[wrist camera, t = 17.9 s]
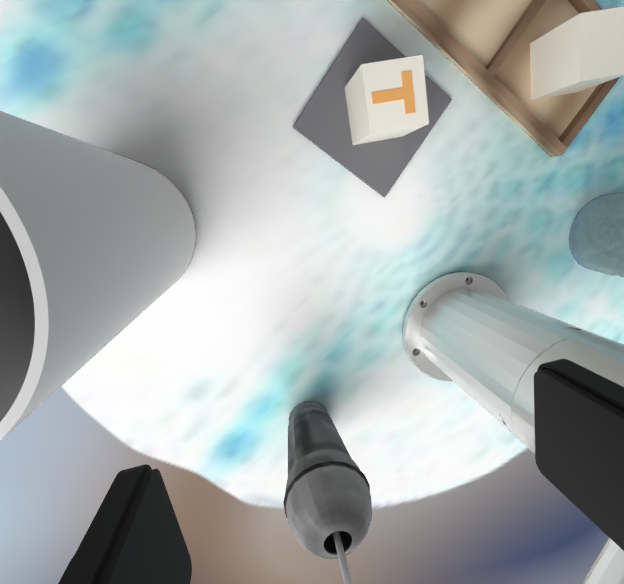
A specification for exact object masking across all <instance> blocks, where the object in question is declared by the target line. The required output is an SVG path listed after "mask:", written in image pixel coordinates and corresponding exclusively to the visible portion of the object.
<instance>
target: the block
mask: <svg viewBox="0 0 624 584" xmlns="http://www.w3.org/2000/svg"><path fill="white" fill-rule="evenodd" d="M530 71H531V100H536V99H542V98H547V97H553V96H559V95H565V94H570V93H576V92H579V91H582V90H585V89H587V88H590V87H593V86H596V85H599V84H601V83H604V82H607V81H610V80H612V79H615V78H618V77H621V76H624V7H618V8H611V9H604V10H598V11H591V12H584V13H580V14H578V15H576V16H575V17H573V18H571V19H570V20H568V21H566V22H565V23H563V24H561V25H560V26H558V27H556V28H555V29H553V30H551V31H550V32H548V33H546V34H545V35H543V36H541V37H540V38H538V39H536V40H535V41H533V42H531V43H530Z"/></svg>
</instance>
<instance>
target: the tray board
mask: <svg viewBox="0 0 624 584" xmlns="http://www.w3.org/2000/svg"><path fill="white" fill-rule="evenodd" d="M388 1H389V2H390V3H391V4H392V5H393V6H394V7H395V8H396V9H397V10H398V11H399V12H400V13H401V14H402V15H403V16H404V17H405V18H406V19H407V20H408V21H410V22H411V23H412V24H413V25H414V26H415V27H416V28H417V29H418V30H419V31H420V32H421V33H422V34H423V35H424V36H425V37H426V38H427V39H428V40H429V41H430V42H432V43H433V44H434V45H435V46H436V47H437V48H438V49H439V50H440V51H441V52H442V53H443V54H444V55H445V56H446V57H447V58H448V59H449V60H450V61H451V62H452V63H454V64H455V65H456V66H457V67H458V68H459V69H460V70H461V71H462V72H463V73H464V74H465V75H466V76H467V77H468V78H469V79H470V80H471V81H472V82H473V83H474V84H476V85H477V86H478V87H479V88H480V89H481V90H482V91H483V92H484V93H485V94H486V95H487V96H488V97H489V98H490V99H491V100H492V101H493V102H494V103H495V104H496V105H498V106H499V107H500V108H501V109H502V110H503V111H504V112H505V113H506V114H507V115H508V116H509V117H510V118H511V119H512V120H513V121H514V122H515V123H516V124H517V125H518V126H520V127H521V128H522V129H523V130H524V131H525V132H526V133H527V134H528V135H529V136H530V137H531V138H532V139H533V140H534V141H535V142H536V143H537V144H538V145H539V146H540V147H542V148H543V149H544V150H545V151H546V152H547V153H548V154H549V155H550V156H551V157H552V156H558V155H562V154H563V153H564V152H565V150H566V149H567V148H568V146H569V145H570V144H571V142H572V141H573V139H574V138H575V137H576V135H577V134H578V133H579V131H580V130H581V129H582V127H583V126H584V125H585V123H586V122H587V121H588V119H589V118H590V117H591V115H592V114H593V112H594V111H595V110H596V108H597V107H598V106H599V104H600V103H601V102H602V100H603V99H604V98H605V96H606V95H607V94H608V92H609V91H610V89H611V88H612V87H613V85H614V84H615V83H616V81H617V80H618V79H619V77H618V78H615V79H612V80H610V81H607V82H604V83H601V84H599V85H596V86H593V87H590V88H587V89H585V90H582V91H579V92H576V93H570V94H565V95H559V96H553V97H547V98H542V99H536V100H531V71H530V43H531V42H533V41H535V40H536V39H538V38H540V37H541V36H543V35H545V34H546V33H548V32H550V31H551V30H553V29H555V28H556V27H558V26H560V25H561V24H563V23H565V22H566V21H568V20H570V19H571V18H573V17H575V16H576V15H578V14H580V13H584V12H591V11H598V10H602V9H601V8H600V6H599V5H598V4H597V3H596V2H595V0H388Z"/></svg>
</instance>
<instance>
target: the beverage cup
mask: <svg viewBox="0 0 624 584" xmlns="http://www.w3.org/2000/svg"><path fill="white" fill-rule="evenodd" d="M284 509H285V514H286V517H287V518H288V522H289V525H290V528H291V530H292V531H293V533H294V535H295V537H296V538H297V540H298V542H299V543H300V544H301V545H302V546H303V547H304V548H305V549H307V550H308V551H309V552H310V553H312V554H314V555H316V556H319V557H322V558H326V559H336V558H339V563H340V567H341V571H342V575H343V579H344V584H352V580H351V576H350V572H349V568H348V564H347V560H346V555H348V554H350V553H351V552H352V551H353V550H355V549H356V548H357V547H358V546H359V545H360V544H361V542H362V541H363V539H364V538H365V536H366V534H367V532H368V529H369V525H370V522H371V517H372V505H371V495H370V488H369V483H368V481H367V479H366V477H365V475H364V474H363V473H362V472H361V471H360V469H359V468H358V466H357V465H356V463H355V462H354V461H353V460H352V459H351V457H350V455H349V453H348V451H347V449H346V447H345V445H344V443H343V441H342V439H341V437H340V435H339V433H338V432H337V430H336V428H335V426H334V424H333V422H332V420H331V418H330V416H329V414H328V413H327V411H326V409H325V408H324V407H323V406H322V405H321V404H319V403H317V402H312V401H308V402H303V403H301V404H299V405H297V406H296V407H295V408H294V409H293V410H292V412H291V413H290V416H289V426H288V480H287V485H286V492H285V498H284Z"/></svg>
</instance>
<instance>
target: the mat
mask: <svg viewBox="0 0 624 584" xmlns="http://www.w3.org/2000/svg"><path fill="white" fill-rule="evenodd" d="M399 58H405V56H404V55H403V54H402V53H401V52H399V51H398V50H397V49H396V48H395V47H394V46H393V45H392V44H391V43H390V42H389V41H387V40H386V39H385V38H384V37H383V36H382V35H381V34H380V33H379V32H378V31H377V30H375V29H374V28H373V27H372V26H371V25H370V24H369V23H368V22H367V21H366V20H365V19H364V18H362V19H361V20H360V22H359V24H358V25H357V27H356V28H355V30H354V31H353V33H352V35H351V36H350V38H349V39H348V41H347V43H346V44H345V46H344V47H343V49H342V50H341V52H340V54H339V55H338V57H337V58H336V60H335V61H334V63H333V65H332V66H331V68H330V69H329V71H328V73H327V74H326V76H325V77H324V79H323V80H322V82H321V84H320V85H319V87H318V88H317V90H316V91H315V93H314V95H313V96H312V98H311V99H310V101H309V103H308V104H307V106H306V107H305V109H304V110H303V112H302V114H301V115H300V117H299V118H298V120H297V121H296V123H295V125H294V126H293V128H294V129H296V130H297V131H298V132H300V133H301V134H302V135H304V136H305V137H306V138H307V139H309V140H310V141H311V142H313V143H314V144H315V145H317V146H318V147H319V148H320V149H322V150H323V151H324V152H326V153H327V154H328V155H330V156H331V157H332V158H333V159H335V160H336V161H337V162H339V163H340V164H341V165H343V166H344V167H345V168H346V169H348V170H349V171H350V172H352V173H353V174H354V175H356V176H357V177H358V178H359V179H361V180H362V181H363V182H365V183H366V184H367V185H369V186H370V187H371V188H372V189H374V190H375V191H376V192H378V193H379V194H380V195H382V196H383V197H385V196H386V195H387V193H388V192H389V190H390V189H391V187H392V186H393V184H394V183H395V182H396V180H397V179H398V177H399V176H400V174H401V173H402V171H403V170H404V168H405V167H406V165H407V164H408V163H409V161H410V160H411V158H412V157H413V155H414V154H415V152H416V151H417V149H418V148H419V147H420V145H421V144H422V142H423V141H424V139H425V138H426V136H427V135H428V133H429V132H430V130H431V129H432V128H433V126H434V125H435V123H436V122H437V120H438V119H439V117H440V116H441V114H442V113H443V111H444V110H445V109H446V107H447V106H448V104H449V103H450V101H451V100H452V99H451V98H450V97H449V96H447V95H446V94H445V93H444V92H443V91H442V90H441V89H440V88H439V87H438V86H437V85H435V84H434V83H433V82H432V81H431V80H430V79H429V78H428V77H427V76H426V75H425V83H426V95H427V106H428V117H429V124H427V125H425V126H423V127H421V128H419V129H417V130H415V131H413V132H411V133H409V134H407V135H405V136H403V137H397V138H391V139H386V140H380V141H375V142H369V143H363V144H358V145H353V144H352V137H351V130H350V123H349V116H348V109H347V102H346V95H345V86H346V85H347V83H348V82H349V81H350V79H351V78H352V77H353V75H354V74H355V72H356V71H357V70H358V68H359V67H360V65H361V64H366V63H373V62H379V61H386V60H392V59H399Z"/></svg>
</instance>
